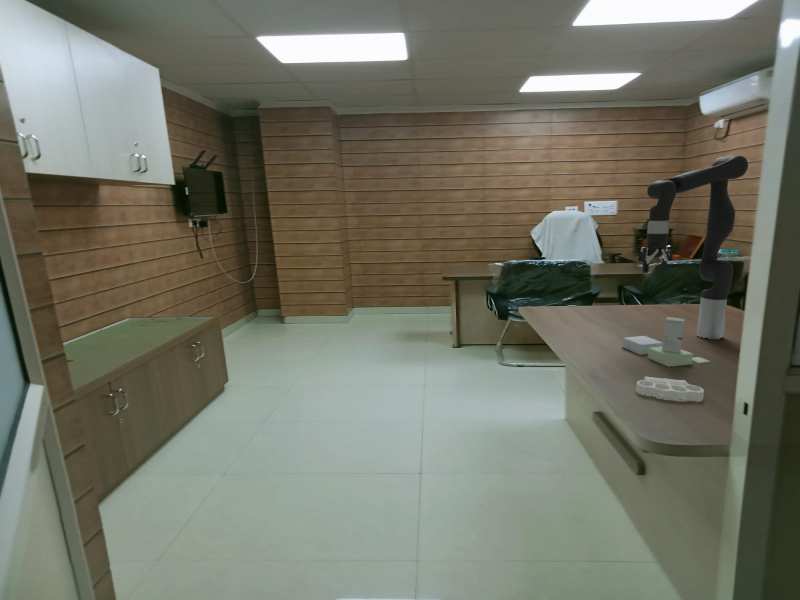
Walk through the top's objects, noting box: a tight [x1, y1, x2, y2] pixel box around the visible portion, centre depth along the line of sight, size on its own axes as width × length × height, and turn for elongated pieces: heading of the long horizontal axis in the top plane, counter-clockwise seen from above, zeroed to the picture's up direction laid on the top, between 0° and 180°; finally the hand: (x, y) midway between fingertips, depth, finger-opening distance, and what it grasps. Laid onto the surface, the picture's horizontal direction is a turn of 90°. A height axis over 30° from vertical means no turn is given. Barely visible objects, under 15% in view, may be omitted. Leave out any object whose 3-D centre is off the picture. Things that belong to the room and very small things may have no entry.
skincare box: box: [662, 316, 686, 353], centre depth 169 cm, size 6×4×12 cm
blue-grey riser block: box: [622, 335, 663, 356], centre depth 184 cm, size 10×10×4 cm
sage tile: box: [692, 356, 711, 365], centre depth 170 cm, size 5×5×1 cm
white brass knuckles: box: [635, 375, 705, 403], centre depth 143 cm, size 3×18×15 cm
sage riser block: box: [647, 347, 694, 368], centre depth 171 cm, size 10×10×4 cm
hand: (654, 272), depth 188 cm, fingers open, 8 cm apart
